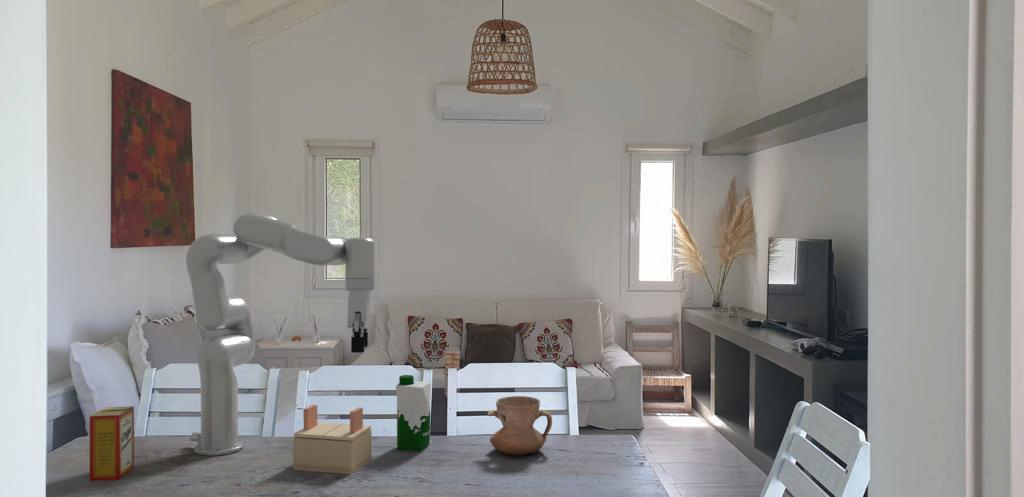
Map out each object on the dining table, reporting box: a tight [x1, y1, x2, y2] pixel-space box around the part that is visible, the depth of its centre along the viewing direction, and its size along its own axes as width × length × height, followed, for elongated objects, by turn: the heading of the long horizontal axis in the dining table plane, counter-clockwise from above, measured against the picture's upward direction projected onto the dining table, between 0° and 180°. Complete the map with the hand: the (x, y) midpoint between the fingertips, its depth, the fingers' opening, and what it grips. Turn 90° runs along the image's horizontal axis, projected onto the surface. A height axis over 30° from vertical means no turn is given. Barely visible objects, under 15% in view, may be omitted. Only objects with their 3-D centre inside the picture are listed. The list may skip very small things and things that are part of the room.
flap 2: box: [323, 407, 372, 441], centre depth 178 cm, size 8×12×6 cm
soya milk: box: [395, 374, 432, 452], centre depth 195 cm, size 9×9×20 cm
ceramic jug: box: [487, 395, 553, 456], centre depth 191 cm, size 18×14×14 cm
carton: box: [292, 428, 373, 475], centre depth 179 cm, size 16×12×8 cm
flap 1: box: [293, 404, 344, 439], centre depth 180 cm, size 8×12×6 cm
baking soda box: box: [89, 406, 135, 482], centre depth 171 cm, size 10×6×16 cm
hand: (359, 349), depth 182 cm, fingers open, 9 cm apart
